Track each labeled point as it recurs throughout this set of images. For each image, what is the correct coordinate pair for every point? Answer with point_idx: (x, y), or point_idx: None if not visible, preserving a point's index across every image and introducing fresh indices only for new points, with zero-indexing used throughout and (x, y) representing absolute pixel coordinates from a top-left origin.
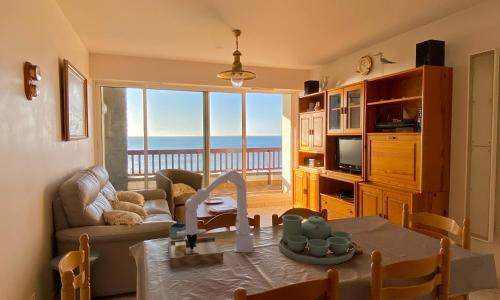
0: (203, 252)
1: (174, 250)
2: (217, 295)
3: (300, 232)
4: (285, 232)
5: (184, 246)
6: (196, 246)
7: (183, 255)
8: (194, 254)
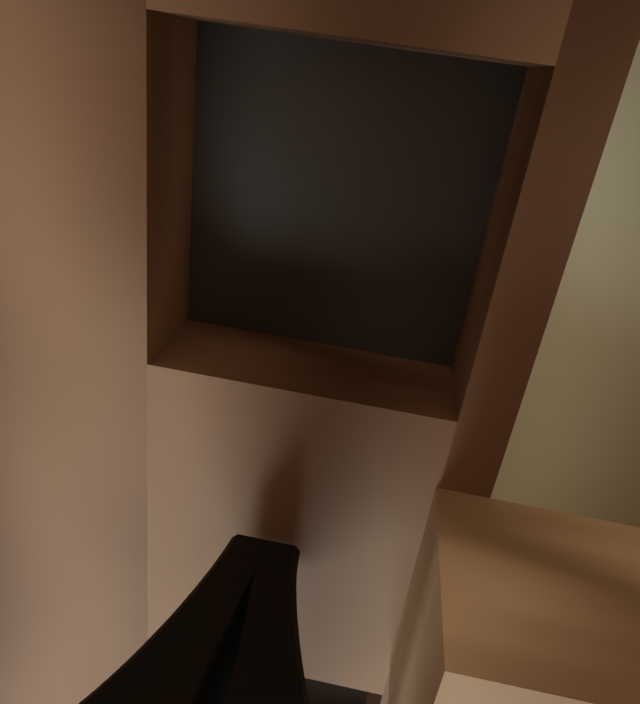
0: (22, 321)
1: None
2: None
3: None
4: None
5: (492, 637)
6: None
7: (560, 362)
8: (253, 365)
